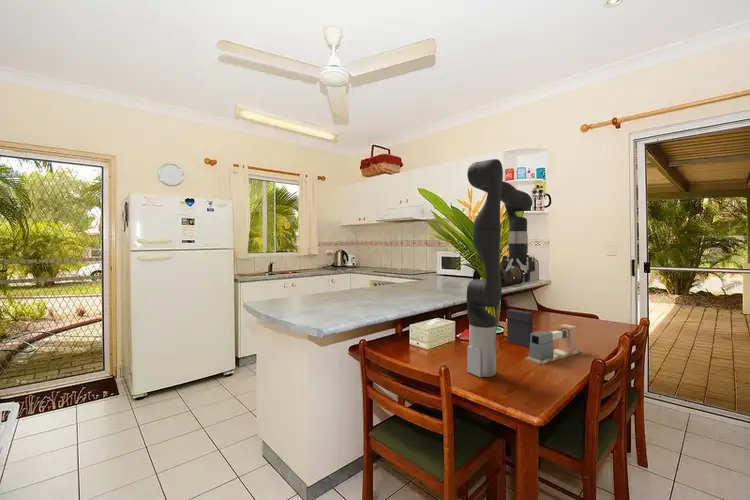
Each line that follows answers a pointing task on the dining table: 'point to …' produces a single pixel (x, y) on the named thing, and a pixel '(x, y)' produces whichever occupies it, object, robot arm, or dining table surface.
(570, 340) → the socket
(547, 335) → the sleeve
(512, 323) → the dark gray lidded box
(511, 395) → the dining table surface
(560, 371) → the dining table surface
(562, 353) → the base board
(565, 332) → the slip tube
